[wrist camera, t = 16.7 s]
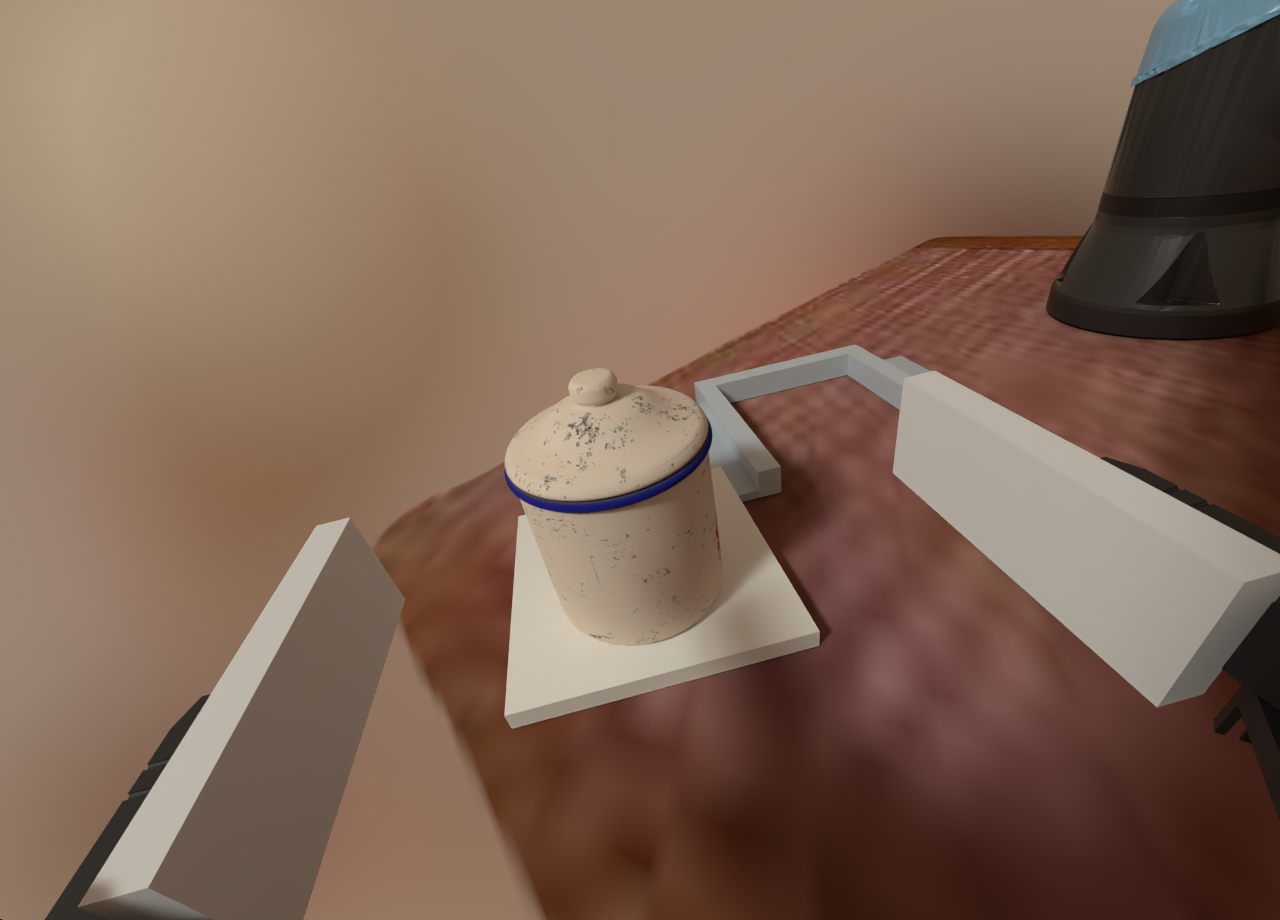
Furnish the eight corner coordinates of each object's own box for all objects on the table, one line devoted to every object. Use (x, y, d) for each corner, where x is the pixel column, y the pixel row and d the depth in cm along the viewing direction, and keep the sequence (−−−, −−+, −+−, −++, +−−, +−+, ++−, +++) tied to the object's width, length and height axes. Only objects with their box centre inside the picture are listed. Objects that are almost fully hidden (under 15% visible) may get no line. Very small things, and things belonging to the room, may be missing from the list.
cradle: (890, 356, 45) (892, 335, 44) (1027, 430, 32) (1034, 403, 31) (659, 412, 44) (655, 391, 43) (706, 511, 31) (703, 485, 30)
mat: (721, 478, 34) (720, 466, 33) (819, 645, 22) (819, 631, 21) (523, 527, 33) (518, 516, 32) (511, 728, 21) (504, 716, 21)
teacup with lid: (766, 575, 24) (754, 356, 18) (621, 694, 20) (543, 466, 14) (627, 485, 33) (587, 317, 27) (506, 556, 29) (428, 377, 23)
